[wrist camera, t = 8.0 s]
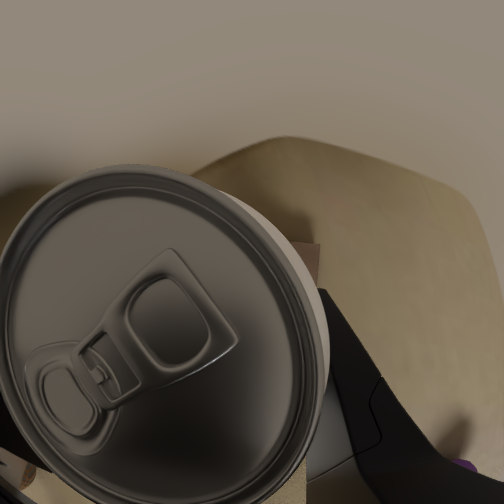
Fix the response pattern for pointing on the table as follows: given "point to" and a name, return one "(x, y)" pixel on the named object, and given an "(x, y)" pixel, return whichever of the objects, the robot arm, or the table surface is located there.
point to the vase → (28, 476)
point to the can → (160, 341)
